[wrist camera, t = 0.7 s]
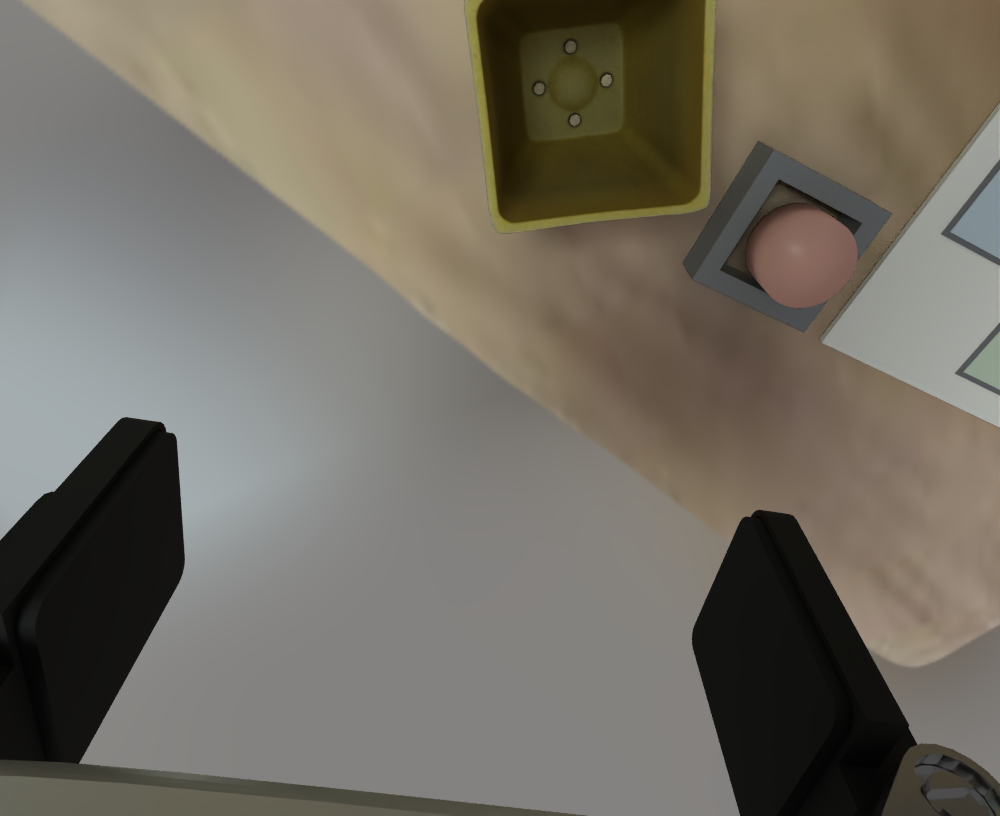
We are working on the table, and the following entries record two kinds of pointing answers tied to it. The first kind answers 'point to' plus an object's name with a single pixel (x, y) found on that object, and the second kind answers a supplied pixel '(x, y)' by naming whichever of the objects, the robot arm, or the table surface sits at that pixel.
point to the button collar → (741, 209)
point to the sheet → (939, 290)
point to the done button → (801, 255)
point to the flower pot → (593, 108)
